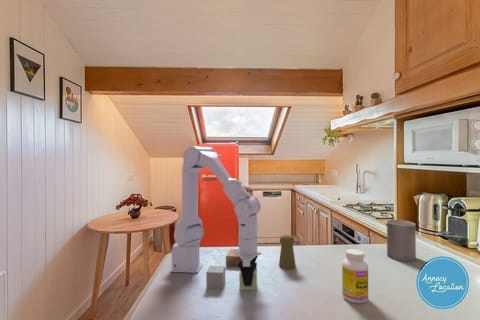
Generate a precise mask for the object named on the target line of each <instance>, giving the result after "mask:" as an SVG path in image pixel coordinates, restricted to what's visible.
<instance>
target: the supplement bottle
mask: <svg viewBox="0 0 480 320" xmlns="http://www.w3.org/2000/svg"><path fill="white" fill-rule="evenodd" d="M345 257H346V258H344V259H343V260H342V263H341V266H342V267H341V268H342V269H341V270H342V271H341V274H342V276H341V278H342V280H341V281H342V283H341V286H342V290H341V291H342V292H341V293H342V296H343V298H344V299H345V300H346V301H348V302H351V303H353V304H365V303H367V302H368V300H369V264H368V263H367V262H366V261H365V260H364V259H365V252H364V251H362V250H360V249H355V248H354V249H353V248H352V249H351V248H349V249H346V250H345Z"/></svg>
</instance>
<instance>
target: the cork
mask: <svg viewBox="0 0 480 320" xmlns="http://www.w3.org/2000/svg"><path fill="white" fill-rule="evenodd" d="M279 243H280V245H281V246H280V252H279V253H280V254H279V263H278V266H279V268H280V269H283V270H293V269H295V268H296V267H297V266H296V265H297V264H296V258H295V252H294V244H295V237H294V236H292V235H290V234H284V235H281V236H280V237H279Z"/></svg>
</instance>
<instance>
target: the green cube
mask: <svg viewBox="0 0 480 320" xmlns="http://www.w3.org/2000/svg"><path fill="white" fill-rule="evenodd" d="M238 275H239V277H238V278H239V284H238V285H239V290H241V291H257V288H258V287H257V285H258V267H257V266H256V268H255V270H254V273H253V279H252V285H251V286H244V283H243V278H242V274H241V271H240V270H239V274H238Z"/></svg>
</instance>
